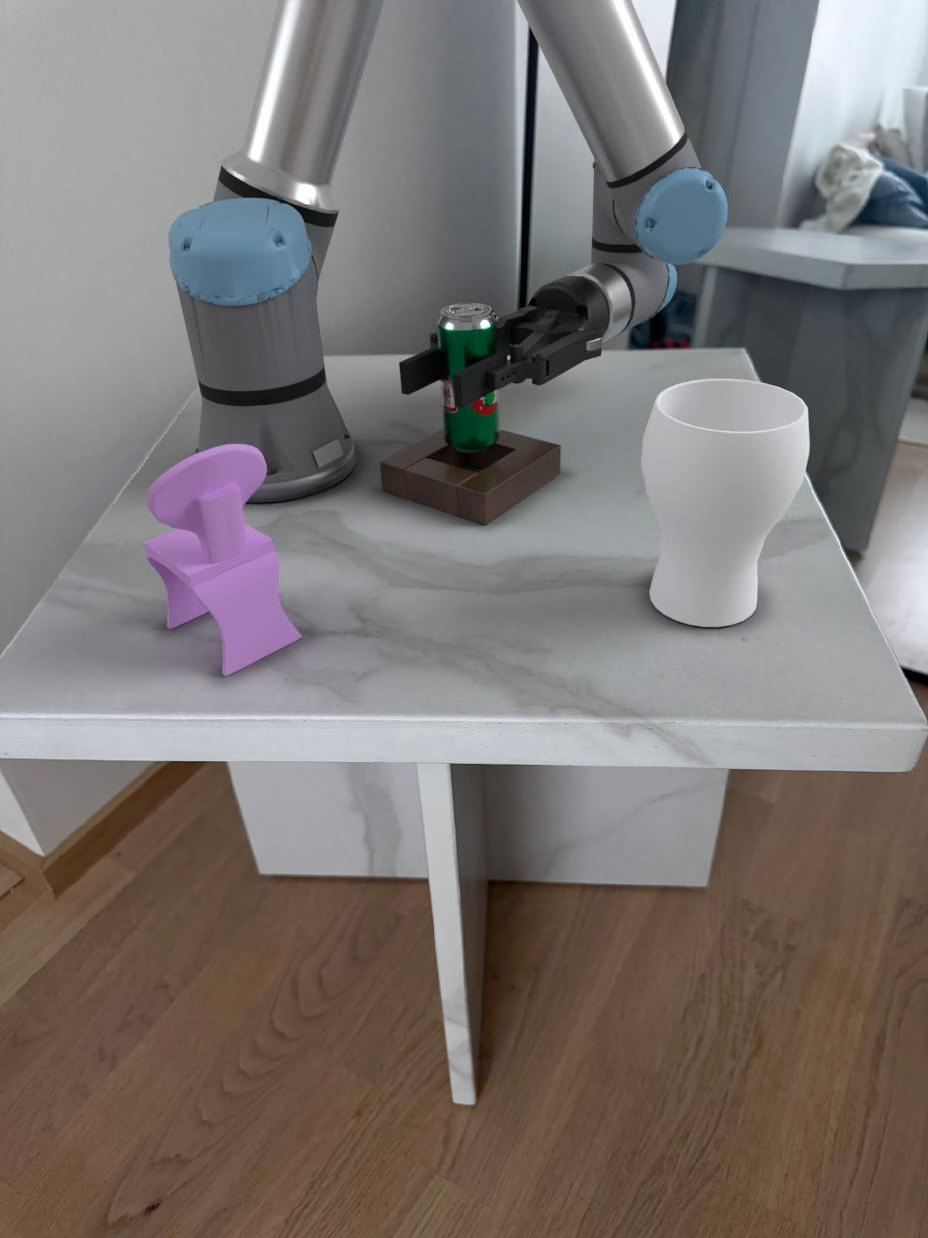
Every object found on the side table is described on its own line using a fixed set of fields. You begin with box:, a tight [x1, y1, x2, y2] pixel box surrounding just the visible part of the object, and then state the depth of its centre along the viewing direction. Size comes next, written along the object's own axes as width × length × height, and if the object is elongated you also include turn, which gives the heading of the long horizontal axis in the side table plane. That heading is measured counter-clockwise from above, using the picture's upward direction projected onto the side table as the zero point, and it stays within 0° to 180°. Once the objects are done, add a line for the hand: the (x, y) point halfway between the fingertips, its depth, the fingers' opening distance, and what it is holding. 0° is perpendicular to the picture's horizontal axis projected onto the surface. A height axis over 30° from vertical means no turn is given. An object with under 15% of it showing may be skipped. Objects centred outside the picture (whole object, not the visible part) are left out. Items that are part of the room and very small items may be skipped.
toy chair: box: [142, 444, 303, 677], centre depth 59 cm, size 8×9×15 cm
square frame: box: [379, 427, 562, 526], centre depth 80 cm, size 12×12×3 cm
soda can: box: [436, 302, 500, 453], centre depth 76 cm, size 5×5×12 cm
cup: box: [640, 378, 811, 628], centre depth 60 cm, size 11×11×15 cm
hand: (430, 384), depth 72 cm, fingers closed on soda can, 5 cm apart
